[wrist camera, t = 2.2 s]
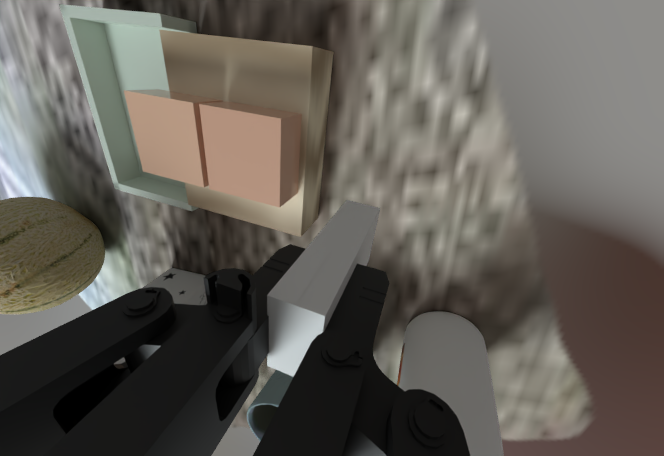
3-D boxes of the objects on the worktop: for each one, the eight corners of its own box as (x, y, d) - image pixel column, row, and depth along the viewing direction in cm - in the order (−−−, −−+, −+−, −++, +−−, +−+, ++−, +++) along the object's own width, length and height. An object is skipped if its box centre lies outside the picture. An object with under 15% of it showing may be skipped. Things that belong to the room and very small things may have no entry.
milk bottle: (411, 300, 28) (368, 617, 11) (495, 320, 26) (592, 747, 9) (400, 350, 32) (355, 646, 15) (472, 372, 30) (513, 745, 13)
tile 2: (159, 89, 22) (123, 90, 20) (222, 100, 21) (192, 102, 18) (172, 162, 25) (143, 171, 23) (228, 176, 24) (203, 187, 21)
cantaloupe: (113, 195, 37) (-58, 254, 24) (140, 280, 44) (20, 360, 31) (36, 172, 40) (-148, 214, 28) (73, 255, 47) (-59, 318, 35)
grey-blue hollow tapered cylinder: (390, 366, 34) (368, 487, 24) (321, 368, 38) (279, 470, 28) (356, 301, 31) (315, 407, 21) (286, 312, 35) (226, 402, 25)
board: (199, 36, 23) (159, 29, 20) (333, 51, 21) (312, 46, 17) (216, 191, 30) (188, 204, 27) (317, 218, 27) (300, 237, 24)
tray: (103, 13, 25) (58, 4, 22) (195, 22, 23) (160, 13, 20) (143, 179, 33) (114, 188, 30) (215, 199, 31) (191, 211, 28)
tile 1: (228, 101, 21) (199, 103, 18) (301, 113, 19) (280, 118, 17) (233, 177, 24) (209, 188, 21) (297, 193, 22) (279, 207, 20)
